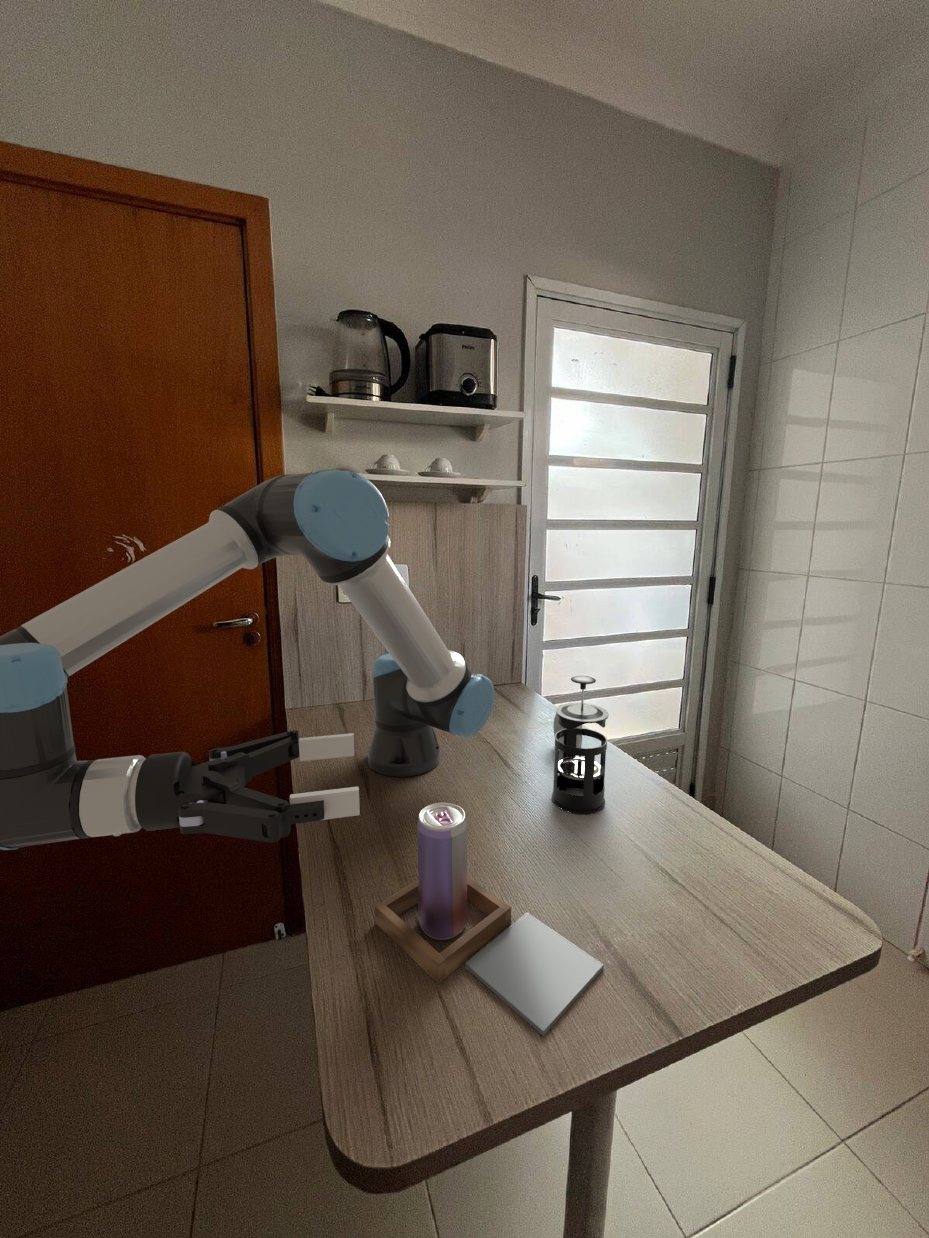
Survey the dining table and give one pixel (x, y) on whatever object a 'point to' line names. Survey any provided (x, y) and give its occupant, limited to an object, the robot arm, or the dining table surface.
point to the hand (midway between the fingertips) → (356, 769)
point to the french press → (574, 768)
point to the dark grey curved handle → (558, 728)
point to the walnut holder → (458, 951)
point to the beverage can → (442, 870)
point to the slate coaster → (534, 971)
